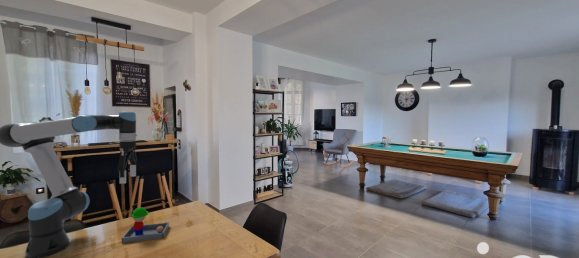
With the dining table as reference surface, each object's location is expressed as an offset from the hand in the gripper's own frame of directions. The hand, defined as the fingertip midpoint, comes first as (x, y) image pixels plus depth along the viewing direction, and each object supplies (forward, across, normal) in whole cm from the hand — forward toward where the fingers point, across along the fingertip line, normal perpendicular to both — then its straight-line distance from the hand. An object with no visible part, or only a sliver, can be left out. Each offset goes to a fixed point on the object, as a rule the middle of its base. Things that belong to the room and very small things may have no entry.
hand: (128, 179), depth 130 cm
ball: (+29, -3, -16) cm, 34 cm away
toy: (+30, -3, -7) cm, 31 cm away
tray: (+30, -3, -10) cm, 32 cm away
